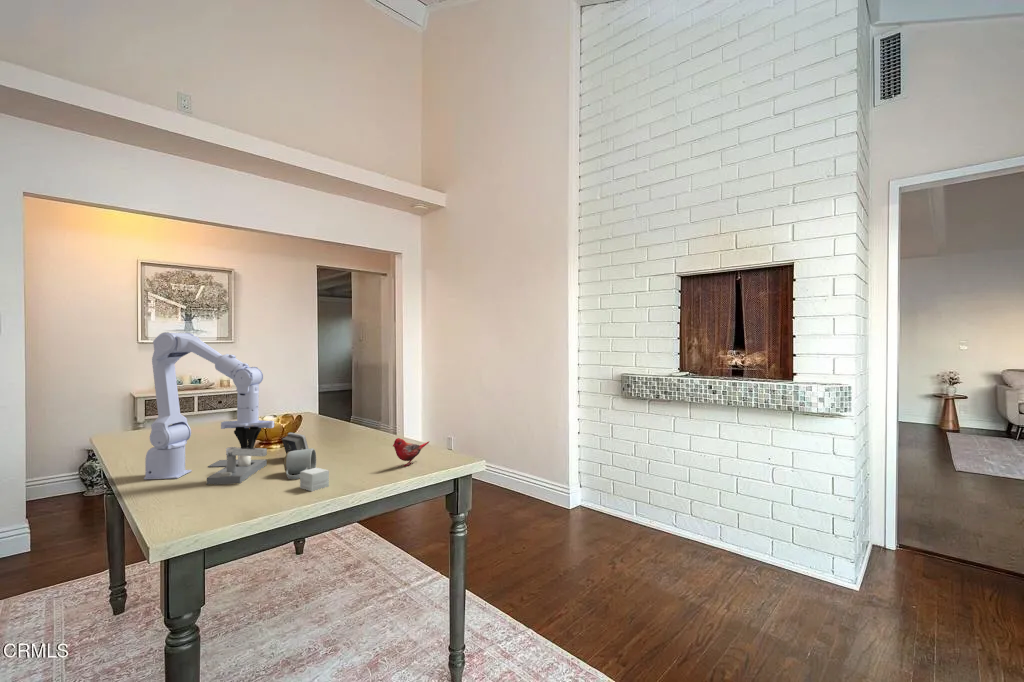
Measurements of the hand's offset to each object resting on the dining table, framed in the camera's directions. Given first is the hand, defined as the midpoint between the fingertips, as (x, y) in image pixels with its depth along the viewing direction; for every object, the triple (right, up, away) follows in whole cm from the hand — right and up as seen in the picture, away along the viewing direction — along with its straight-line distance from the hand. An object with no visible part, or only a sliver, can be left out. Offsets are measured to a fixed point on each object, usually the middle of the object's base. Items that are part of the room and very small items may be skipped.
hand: (247, 451), depth 143 cm
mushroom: (-5, -8, +7) cm, 12 cm away
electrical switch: (+5, -8, +21) cm, 24 cm away
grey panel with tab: (-5, -8, +3) cm, 10 cm away
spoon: (+1, 0, -2) cm, 3 cm away
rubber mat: (-16, -8, +15) cm, 23 cm away
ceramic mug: (+15, -8, +3) cm, 17 cm away
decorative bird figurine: (+47, -8, +15) cm, 50 cm away
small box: (+24, -8, -9) cm, 27 cm away
